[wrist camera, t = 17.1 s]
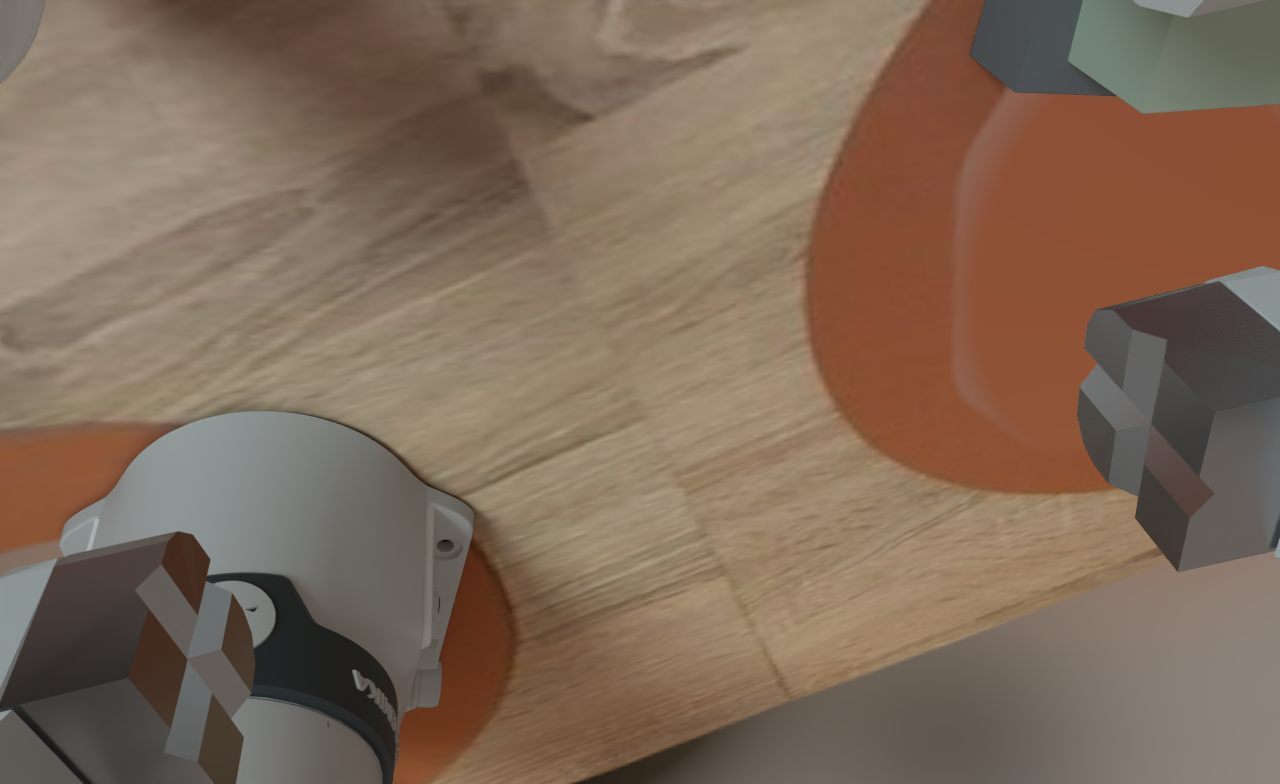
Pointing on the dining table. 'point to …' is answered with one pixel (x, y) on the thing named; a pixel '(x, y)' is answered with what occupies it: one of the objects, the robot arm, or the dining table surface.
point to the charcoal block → (1032, 46)
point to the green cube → (1181, 55)
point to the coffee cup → (17, 31)
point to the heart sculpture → (1192, 6)
